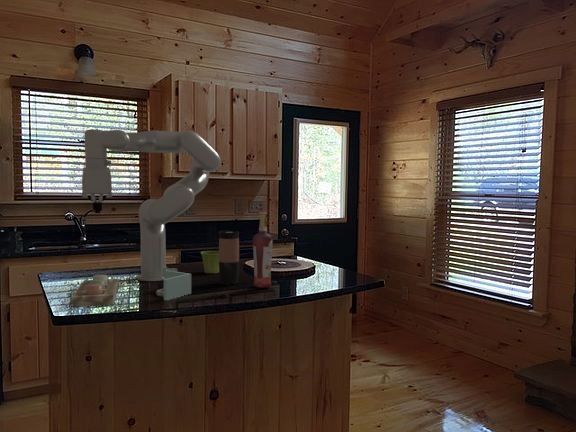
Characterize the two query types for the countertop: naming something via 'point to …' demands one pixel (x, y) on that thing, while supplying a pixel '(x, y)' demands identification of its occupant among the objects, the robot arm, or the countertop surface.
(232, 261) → the travel mug
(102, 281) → the pale green egg
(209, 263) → the plant pot
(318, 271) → the countertop surface
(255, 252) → the liquor
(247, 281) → the countertop surface
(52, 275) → the countertop surface
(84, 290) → the wooden rectangular frame
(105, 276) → the beige egg
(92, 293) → the brown egg
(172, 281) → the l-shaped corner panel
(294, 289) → the countertop surface
